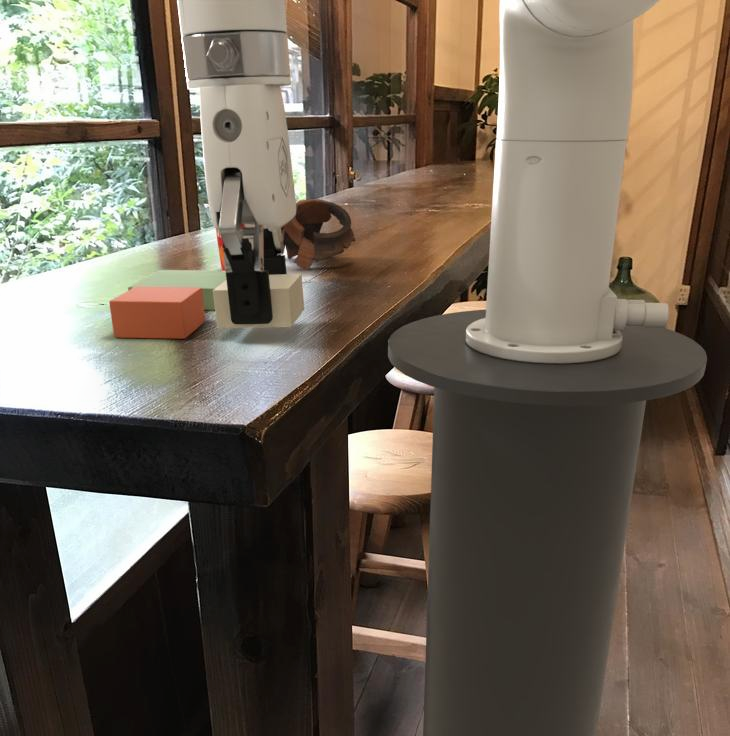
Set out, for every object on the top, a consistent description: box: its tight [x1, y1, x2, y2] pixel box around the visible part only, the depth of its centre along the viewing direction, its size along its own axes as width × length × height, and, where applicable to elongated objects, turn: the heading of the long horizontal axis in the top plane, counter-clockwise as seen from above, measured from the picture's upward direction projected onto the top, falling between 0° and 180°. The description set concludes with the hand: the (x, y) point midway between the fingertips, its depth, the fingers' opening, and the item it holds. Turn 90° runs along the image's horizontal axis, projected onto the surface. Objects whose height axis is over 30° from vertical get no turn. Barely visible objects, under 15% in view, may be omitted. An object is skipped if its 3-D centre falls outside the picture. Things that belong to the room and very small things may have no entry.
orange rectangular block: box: [108, 286, 206, 340], centre depth 68 cm, size 6×6×3 cm
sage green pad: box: [127, 269, 226, 311], centre depth 79 cm, size 9×9×2 cm
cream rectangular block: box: [213, 273, 305, 329], centre depth 66 cm, size 6×6×3 cm
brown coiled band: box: [281, 198, 356, 271], centre depth 96 cm, size 12×10×8 cm
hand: (261, 311), depth 66 cm, fingers closed on cream rectangular block, 6 cm apart
